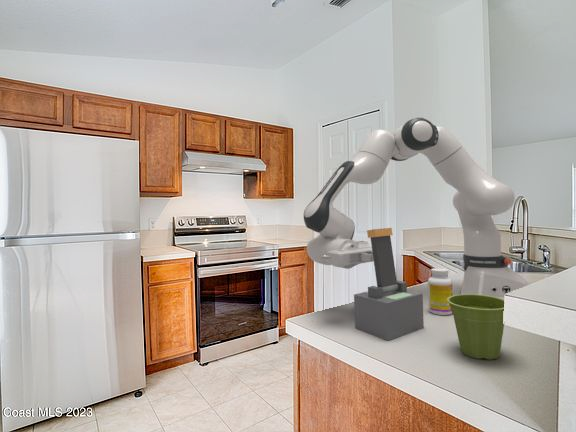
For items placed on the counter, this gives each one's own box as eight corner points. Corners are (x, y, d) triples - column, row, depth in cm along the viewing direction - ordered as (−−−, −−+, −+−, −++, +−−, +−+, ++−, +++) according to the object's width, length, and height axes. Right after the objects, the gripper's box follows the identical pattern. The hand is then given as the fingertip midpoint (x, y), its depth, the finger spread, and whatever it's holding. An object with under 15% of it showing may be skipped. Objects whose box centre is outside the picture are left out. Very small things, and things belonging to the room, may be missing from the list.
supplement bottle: (456, 316, 94) (454, 271, 93) (431, 315, 95) (430, 271, 95) (449, 309, 100) (448, 267, 100) (426, 308, 102) (425, 267, 101)
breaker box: (355, 328, 87) (353, 285, 87) (389, 317, 95) (388, 277, 95) (388, 340, 78) (386, 292, 78) (423, 327, 86) (422, 283, 85)
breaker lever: (375, 294, 85) (366, 230, 87) (392, 289, 89) (384, 228, 91) (383, 294, 83) (374, 229, 85) (400, 290, 87) (391, 227, 89)
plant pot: (455, 338, 78) (453, 291, 78) (515, 350, 71) (513, 298, 70) (441, 356, 69) (440, 303, 69) (509, 372, 62) (507, 312, 61)
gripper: (317, 246, 94) (351, 249, 82) (368, 240, 105) (404, 243, 93) (318, 267, 94) (352, 274, 82) (368, 260, 105) (405, 265, 93)
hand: (380, 257), depth 88 cm, fingers closed, pressing on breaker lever
